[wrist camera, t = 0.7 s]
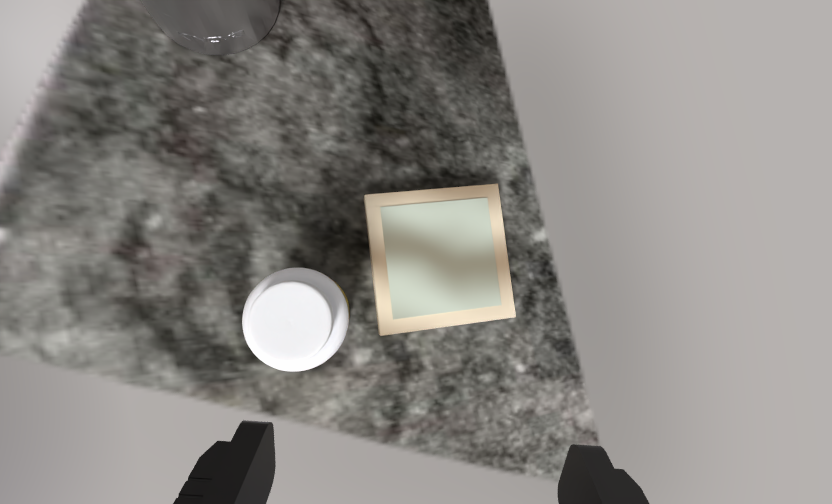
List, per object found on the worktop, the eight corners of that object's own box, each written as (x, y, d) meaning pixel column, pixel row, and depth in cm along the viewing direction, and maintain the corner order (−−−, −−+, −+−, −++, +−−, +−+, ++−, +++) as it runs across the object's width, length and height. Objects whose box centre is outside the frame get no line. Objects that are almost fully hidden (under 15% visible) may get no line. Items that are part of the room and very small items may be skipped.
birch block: (363, 199, 31) (364, 194, 30) (491, 188, 33) (498, 183, 31) (378, 333, 31) (380, 335, 29) (508, 315, 32) (516, 317, 31)
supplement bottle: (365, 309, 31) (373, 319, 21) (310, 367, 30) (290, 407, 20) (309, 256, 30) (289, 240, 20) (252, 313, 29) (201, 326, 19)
